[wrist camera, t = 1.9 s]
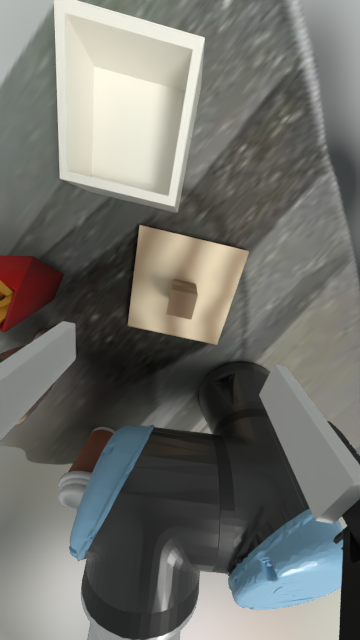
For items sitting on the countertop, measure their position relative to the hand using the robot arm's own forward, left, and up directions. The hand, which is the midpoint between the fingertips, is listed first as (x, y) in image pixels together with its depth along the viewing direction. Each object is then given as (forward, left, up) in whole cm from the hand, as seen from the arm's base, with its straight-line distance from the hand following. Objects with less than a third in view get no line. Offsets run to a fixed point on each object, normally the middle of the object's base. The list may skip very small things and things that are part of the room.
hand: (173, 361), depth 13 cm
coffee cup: (+10, +38, -19) cm, 43 cm away
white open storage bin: (+9, -16, -19) cm, 26 cm away
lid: (0, 0, -19) cm, 19 cm away
